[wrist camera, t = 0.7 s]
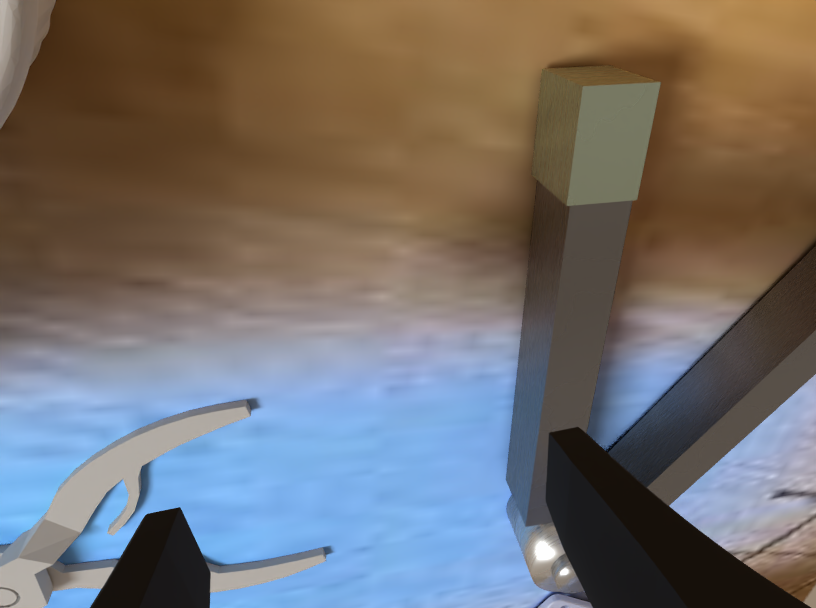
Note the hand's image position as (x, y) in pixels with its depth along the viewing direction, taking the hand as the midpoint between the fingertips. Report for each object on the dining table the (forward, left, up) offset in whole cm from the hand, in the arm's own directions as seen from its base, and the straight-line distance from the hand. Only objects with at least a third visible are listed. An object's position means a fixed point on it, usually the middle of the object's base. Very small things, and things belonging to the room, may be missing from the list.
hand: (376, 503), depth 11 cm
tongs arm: (-7, -3, -8) cm, 11 cm away
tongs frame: (-14, -3, -9) cm, 17 cm away
